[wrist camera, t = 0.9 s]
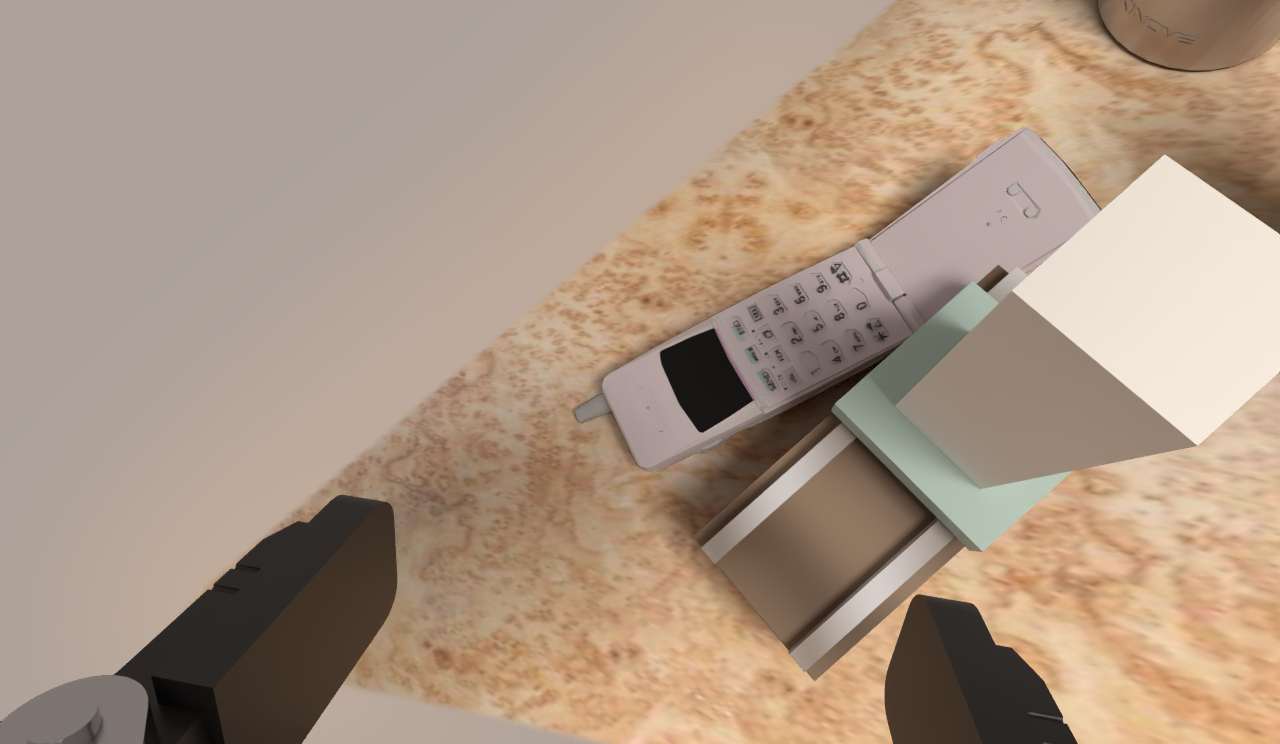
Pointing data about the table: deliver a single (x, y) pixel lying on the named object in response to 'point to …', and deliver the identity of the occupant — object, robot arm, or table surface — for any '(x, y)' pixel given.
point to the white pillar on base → (1080, 357)
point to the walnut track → (831, 538)
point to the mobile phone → (844, 306)
